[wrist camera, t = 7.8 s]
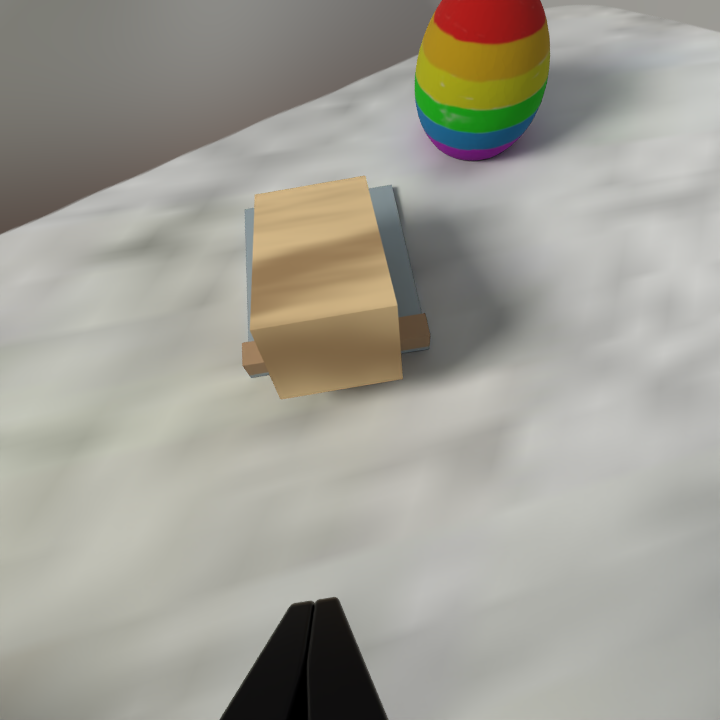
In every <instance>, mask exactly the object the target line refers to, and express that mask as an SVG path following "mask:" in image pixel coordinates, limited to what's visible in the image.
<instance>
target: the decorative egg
mask: <svg viewBox="0 0 720 720" xmlns="http://www.w3.org/2000/svg"><path fill="white" fill-rule="evenodd" d="M549 63H550V38H549V31H548V25H547V20H546V16H545V12H544V9H543V6H542V4H541V1H540V0H442V1H441V3H440V4H439V6H438V7H437V9H436V11H435V13H434V14H433V16H432V18H431V20H430V23H429V25H428V27H427V30H426V32H425V35H424V37H423V41H422V44H421V47H420V51H419V55H418V59H417V65H416V72H415V101H416V107H417V111H418V115H419V118H420V122H421V124H422V126H423V128H424V130H425V132H426V134H427V136H428V137H429V138H430V140H431V141H432V142H433V144H434V145H435V146H436V147H437V148H438V149H439V150H441V151H442V152H443V153H445V154H447V155H449V156H451V157H454V158H457V159H461V160H472V161H474V160H482V159H487V158H491V157H493V156H495V155H497V154H499V153H501V152H503V151H504V150H506V149H507V148H508V147H510V146H511V145H512V144H513V143H514V142H515V141H516V140H518V139H519V138H520V136H521V135H522V134H523V133H524V132H525V130H526V129H527V128H528V126H529V125H530V123H531V122H532V120H533V118H534V116H535V114H536V112H537V110H538V108H539V106H540V103H541V101H542V98H543V94H544V91H545V88H546V84H547V79H548V72H549Z"/></svg>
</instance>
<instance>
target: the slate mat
mask: <svg viewBox="0 0 720 720" xmlns="http://www.w3.org/2000/svg"><path fill="white" fill-rule="evenodd" d="M369 193H370V197H371V201H372V205H373V209H374V213H375V217H376V221H377V225H378V229H379V233H380V237H381V241H382V245H383V249H384V253H385V257H386V261H387V265H388V269H389V273H390V277H391V281H392V285H393V289H394V293H395V297H396V301H397V306H398V320H399V333H400V347H401V353H407V352H413V351H419V350H426V349H429V345H430V332H429V327H428V323H427V319H426V315H425V313H423V314H422V313H421V308H420V304H419V300H418V295H417V291H416V287H415V283H414V278H413V274H412V270H411V266H410V261H409V257H408V253H407V248H406V244H405V240H404V236H403V231H402V227H401V223H400V219H399V214H398V210H397V206H396V201H395V197H394V193H393V189H392V185H387V186H382V187H376V188H370V189H369ZM253 231H254V208H251V209H245V237H246V273H247V308H248V342H245V343H242V362H243V367H244V369H245V370H246V371H247V373H248V374H249V376H250V377H251V378H252V377H259V376H265V375H269V372H268V370H267V368H266V366H265V363H264V361H263V359H262V357H261V354H260V352H259V350H258V348H257V345H256V343H255V341H254V339H253V336H252V334H251V332H250V313H251V285H252V258H253Z"/></svg>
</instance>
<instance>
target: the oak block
mask: <svg viewBox="0 0 720 720" xmlns="http://www.w3.org/2000/svg"><path fill="white" fill-rule="evenodd" d="M250 332H251V334H252V336H253V339H254V341H255V343H256V345H257V348H258V350H259V352H260V354H261V357H262V359H263V361H264V363H265V366H266V368H267V370H268V372H269V375H270V377H271V379H272V381H273V384H274V386H275V388H276V390H277V393H278V395H279V397H280V399H286V398H292V397H298V396H304V395H310V394H316V393H322V392H328V391H334V390H340V389H346V388H352V387H358V386H364V385H370V384H376V383H382V382H388V381H393V380H399V379H403V375H402V361H401V347H400V333H399V320H398V306H397V301H396V297H395V293H394V289H393V285H392V281H391V277H390V273H389V269H388V265H387V261H386V257H385V253H384V249H383V245H382V241H381V237H380V233H379V229H378V225H377V221H376V217H375V213H374V209H373V205H372V201H371V197H370V193H369V189H368V185H367V181H366V177H365V176H360V177H354V178H349V179H343V180H337V181H331V182H326V183H320V184H314V185H308V186H303V187H297V188H291V189H285V190H279V191H274V192H268V193H262V194H256V195H255V204H254V231H253V258H252V285H251V313H250Z"/></svg>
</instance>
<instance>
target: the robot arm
mask: <svg viewBox="0 0 720 720" xmlns="http://www.w3.org/2000/svg"><path fill="white" fill-rule="evenodd" d="M220 720H388V717H387V715H386V713H385V710H384V708H383V705H382V703H381V701H380V698H379V696H378V693H377V691H376V688H375V686H374V684H373V681H372V679H371V676H370V674H369V671H368V669H367V667H366V664H365V662H364V659H363V657H362V654H361V652H360V650H359V647H358V645H357V642H356V640H355V638H354V635H353V633H352V630H351V628H350V625H349V623H348V621H347V618H346V616H345V613H344V611H343V608H342V606H341V604H340V601H339V599H338V598H336V597H332V598H325V599H319V600H317V601H316V602H315V603H314V602H313V601H306V602H299V603H294V604H292V605H291V606H290V607H289V608H288V610H287V612H286V613H285V615H284V616H283V618H282V620H281V621H280V623H279V625H278V626H277V628H276V629H275V631H274V633H273V634H272V636H271V637H270V639H269V641H268V642H267V644H266V646H265V647H264V649H263V650H262V652H261V654H260V655H259V657H258V658H257V660H256V662H255V663H254V665H253V667H252V668H251V670H250V671H249V673H248V675H247V676H246V678H245V679H244V681H243V683H242V684H241V686H240V688H239V689H238V691H237V692H236V694H235V696H234V697H233V699H232V700H231V702H230V704H229V705H228V707H227V709H226V710H225V712H224V713H223V715H222V717H221V718H220Z"/></svg>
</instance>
